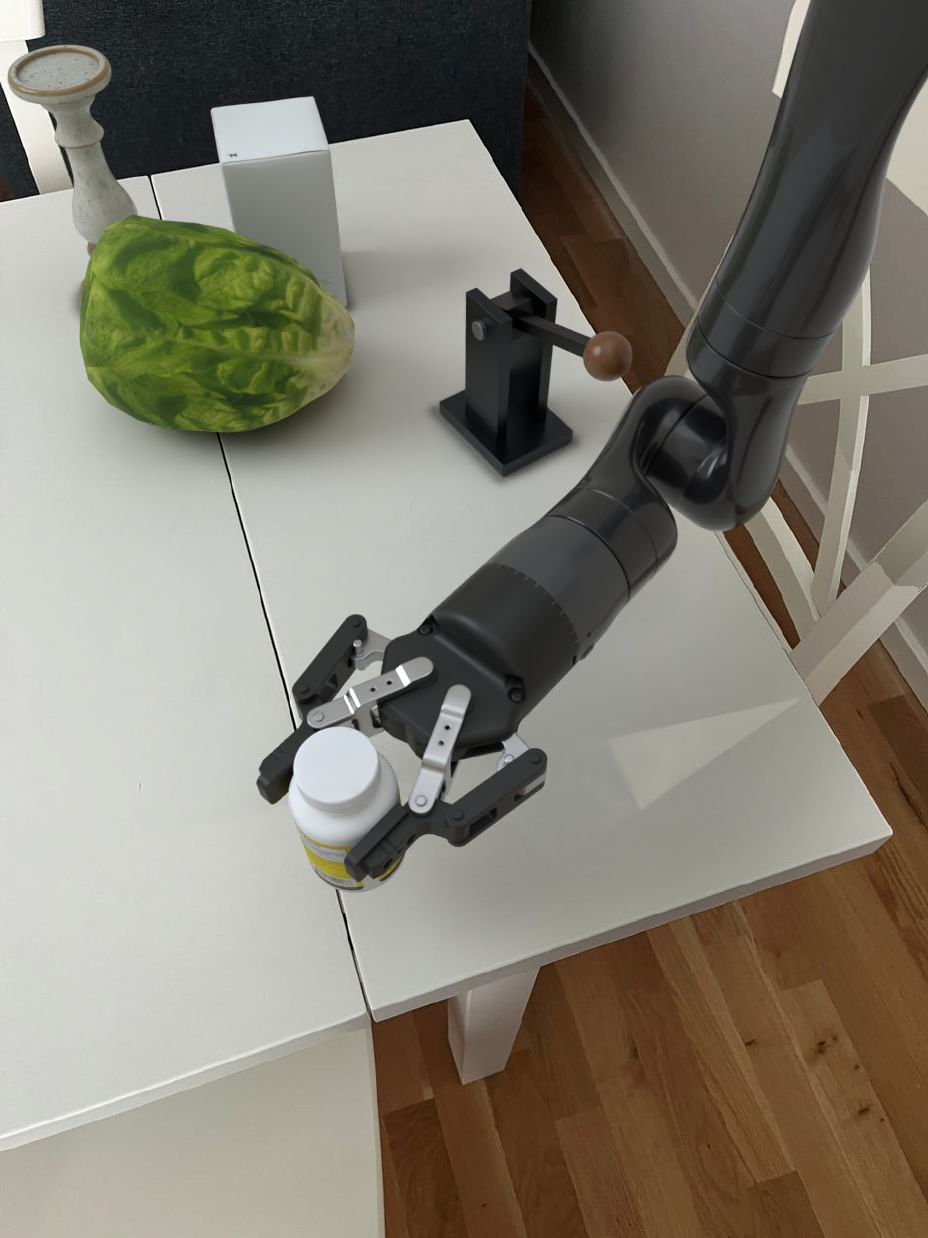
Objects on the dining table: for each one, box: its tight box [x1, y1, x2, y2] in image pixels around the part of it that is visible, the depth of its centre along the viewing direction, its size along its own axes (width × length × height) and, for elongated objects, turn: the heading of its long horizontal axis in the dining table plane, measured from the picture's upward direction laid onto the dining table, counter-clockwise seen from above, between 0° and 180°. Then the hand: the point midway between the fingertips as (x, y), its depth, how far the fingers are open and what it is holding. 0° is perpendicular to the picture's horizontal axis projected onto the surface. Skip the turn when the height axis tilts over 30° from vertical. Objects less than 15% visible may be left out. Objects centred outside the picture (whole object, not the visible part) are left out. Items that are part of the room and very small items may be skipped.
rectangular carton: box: [210, 96, 348, 308], centre depth 86 cm, size 9×9×15 cm
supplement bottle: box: [287, 727, 407, 894], centre depth 50 cm, size 5×5×10 cm
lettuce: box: [79, 214, 356, 434], centre depth 77 cm, size 16×21×15 cm
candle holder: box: [7, 44, 139, 301], centre depth 83 cm, size 9×9×20 cm
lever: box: [489, 290, 633, 383], centre depth 68 cm, size 14×3×3 cm, turn 35°
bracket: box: [438, 267, 574, 477], centre depth 76 cm, size 9×7×13 cm
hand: (307, 831), depth 47 cm, fingers closed on supplement bottle, 5 cm apart
